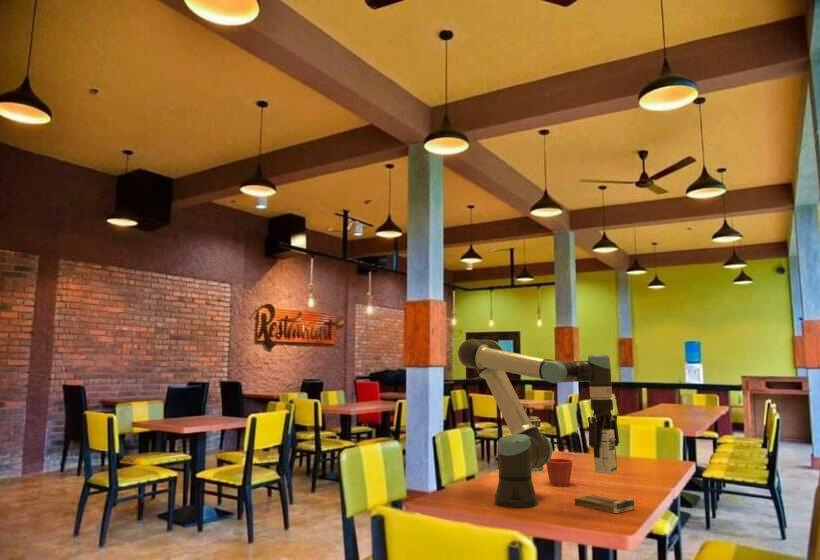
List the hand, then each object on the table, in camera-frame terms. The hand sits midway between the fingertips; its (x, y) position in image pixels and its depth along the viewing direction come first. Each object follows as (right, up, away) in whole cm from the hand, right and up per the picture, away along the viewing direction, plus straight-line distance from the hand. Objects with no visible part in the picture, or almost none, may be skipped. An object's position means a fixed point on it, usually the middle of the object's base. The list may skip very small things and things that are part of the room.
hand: (605, 466), depth 203 cm
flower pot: (-6, -20, +39) cm, 44 cm away
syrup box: (0, -2, 0) cm, 2 cm away
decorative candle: (-10, -25, +68) cm, 73 cm away
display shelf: (-1, -14, 0) cm, 14 cm away
